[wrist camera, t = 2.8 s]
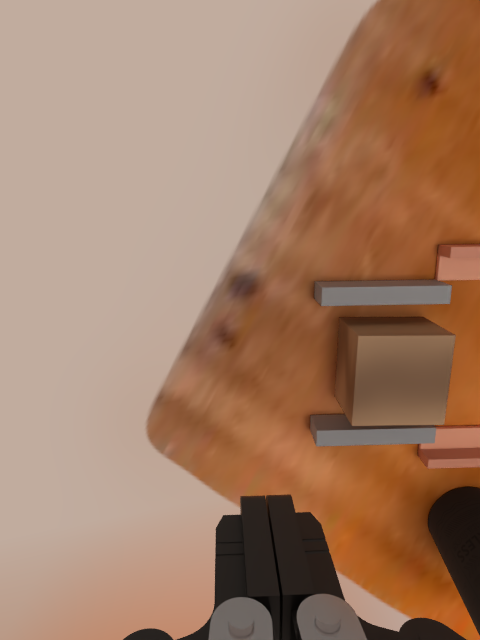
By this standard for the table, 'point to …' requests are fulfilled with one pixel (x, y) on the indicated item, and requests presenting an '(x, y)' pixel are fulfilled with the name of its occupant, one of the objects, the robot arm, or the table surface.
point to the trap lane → (452, 264)
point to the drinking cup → (460, 542)
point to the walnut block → (393, 370)
